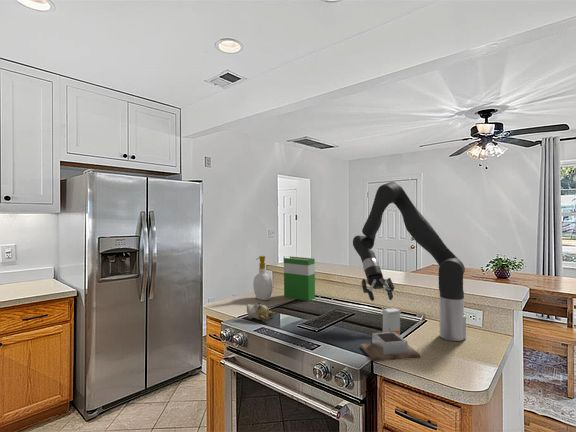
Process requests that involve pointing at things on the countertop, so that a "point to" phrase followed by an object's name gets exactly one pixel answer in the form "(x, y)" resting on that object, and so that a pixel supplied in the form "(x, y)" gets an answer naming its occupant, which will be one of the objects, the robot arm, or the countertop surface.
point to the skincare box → (391, 320)
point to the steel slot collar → (389, 343)
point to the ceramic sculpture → (259, 312)
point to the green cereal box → (299, 278)
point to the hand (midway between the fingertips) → (382, 299)
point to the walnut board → (377, 356)
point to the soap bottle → (262, 282)
